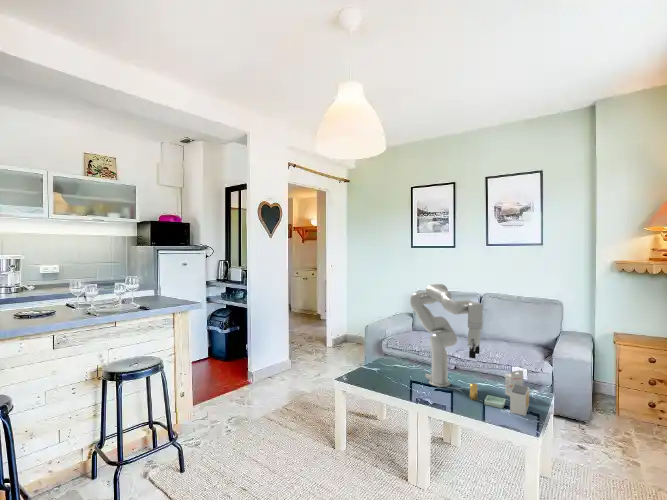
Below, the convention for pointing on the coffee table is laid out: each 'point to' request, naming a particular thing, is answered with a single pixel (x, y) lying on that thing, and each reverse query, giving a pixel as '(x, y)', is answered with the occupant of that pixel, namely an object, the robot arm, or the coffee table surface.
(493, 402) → the tray
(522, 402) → the white box grey panel
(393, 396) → the coffee table surface
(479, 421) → the coffee table surface
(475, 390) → the roller
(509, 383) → the ink cartridge box
